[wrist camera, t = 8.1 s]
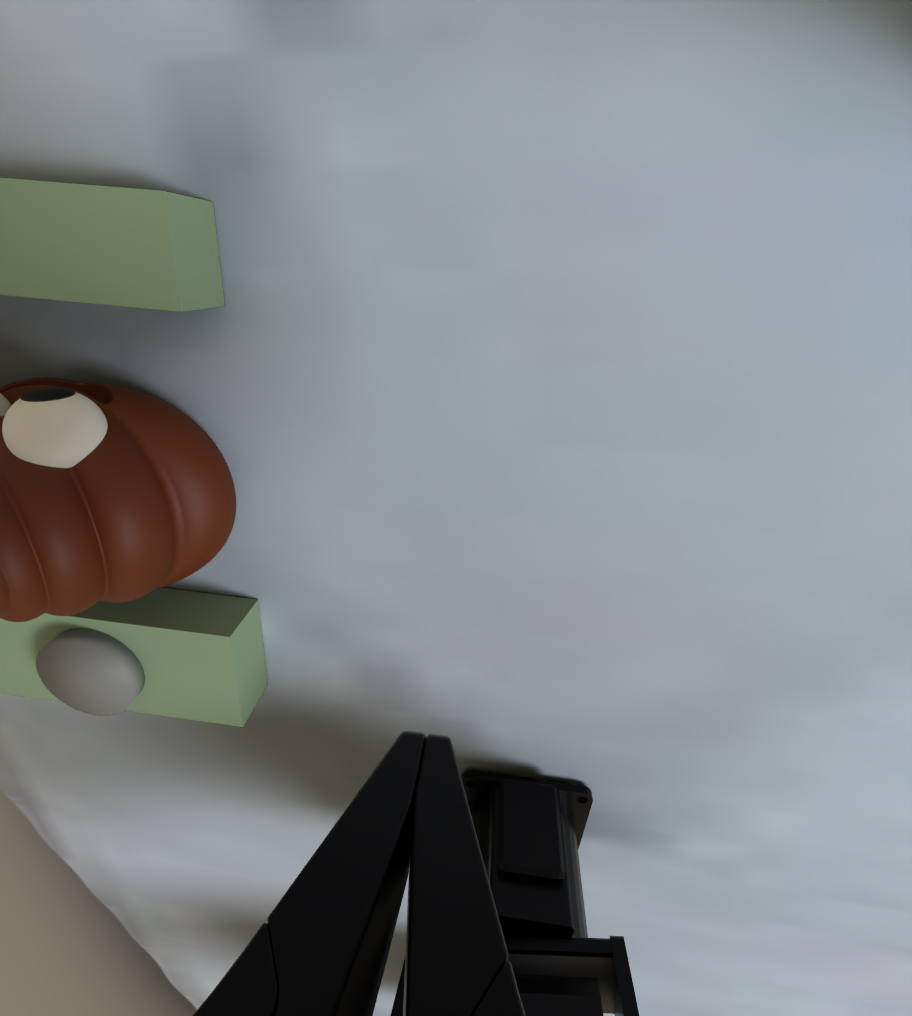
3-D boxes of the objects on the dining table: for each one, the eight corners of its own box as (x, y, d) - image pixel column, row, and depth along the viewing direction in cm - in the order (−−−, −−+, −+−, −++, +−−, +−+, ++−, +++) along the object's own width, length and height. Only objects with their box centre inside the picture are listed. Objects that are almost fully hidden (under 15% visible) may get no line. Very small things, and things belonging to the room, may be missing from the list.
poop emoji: (37, 550, 22) (-249, 720, 14) (-30, 350, 19) (-476, 417, 10) (257, 575, 22) (96, 769, 13) (232, 374, 18) (-11, 467, 10)
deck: (267, 684, 24) (225, 756, 21) (31, 653, 25) (-50, 717, 21) (212, 201, 16) (123, 182, 12) (-149, 172, 16) (-336, 144, 13)
